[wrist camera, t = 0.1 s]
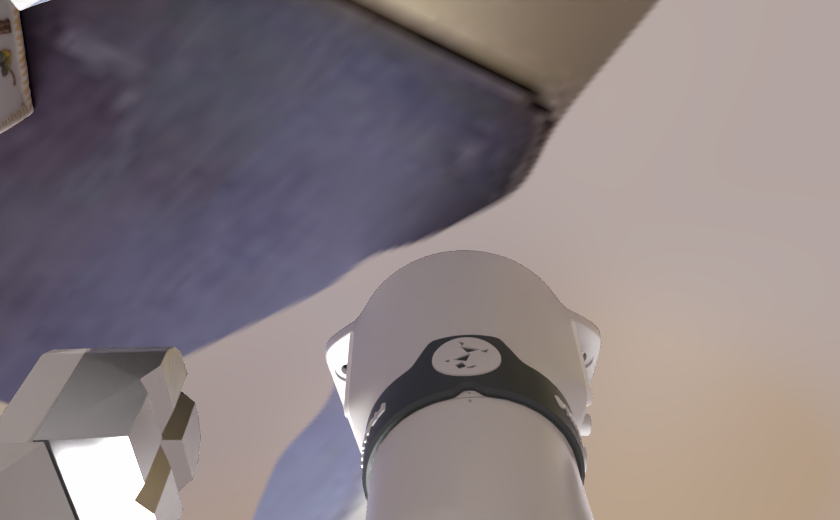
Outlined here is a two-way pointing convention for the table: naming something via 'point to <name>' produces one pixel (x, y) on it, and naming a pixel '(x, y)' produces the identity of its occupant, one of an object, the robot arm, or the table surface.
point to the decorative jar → (12, 69)
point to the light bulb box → (26, 3)
